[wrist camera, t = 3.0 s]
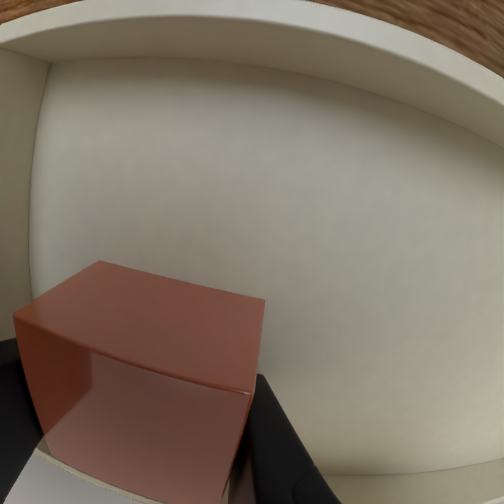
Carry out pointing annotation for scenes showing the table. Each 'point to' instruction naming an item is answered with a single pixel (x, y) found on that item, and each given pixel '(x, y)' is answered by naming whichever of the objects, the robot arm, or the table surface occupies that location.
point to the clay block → (142, 378)
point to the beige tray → (281, 213)
